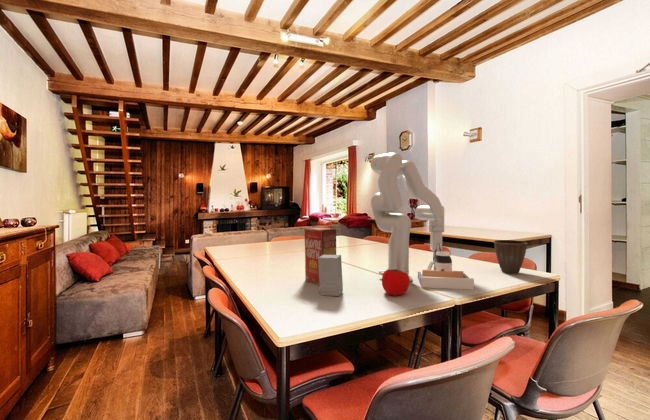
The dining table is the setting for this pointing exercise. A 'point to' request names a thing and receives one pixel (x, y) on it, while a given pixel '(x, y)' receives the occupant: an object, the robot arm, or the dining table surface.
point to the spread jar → (441, 261)
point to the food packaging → (317, 249)
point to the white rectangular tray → (446, 282)
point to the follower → (442, 273)
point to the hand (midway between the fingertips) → (436, 263)
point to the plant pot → (510, 255)
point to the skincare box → (330, 275)
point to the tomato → (395, 282)
